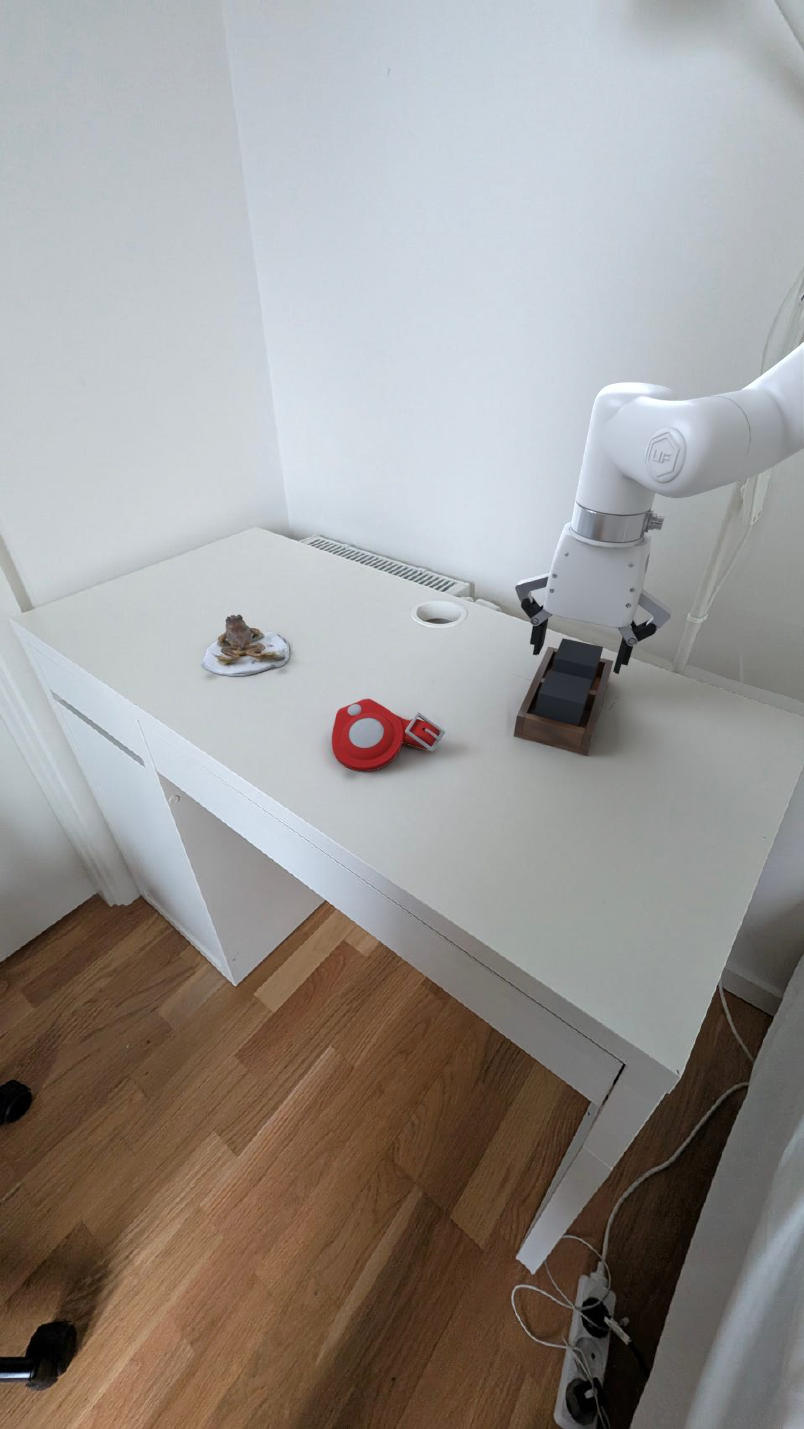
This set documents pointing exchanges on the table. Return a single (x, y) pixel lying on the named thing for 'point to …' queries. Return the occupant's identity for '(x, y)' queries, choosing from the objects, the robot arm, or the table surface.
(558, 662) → the dark grey block
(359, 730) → the tracker holder
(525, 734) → the frame
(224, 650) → the frog figurine
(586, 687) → the dark grey cube
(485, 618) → the table surface
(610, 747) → the table surface
